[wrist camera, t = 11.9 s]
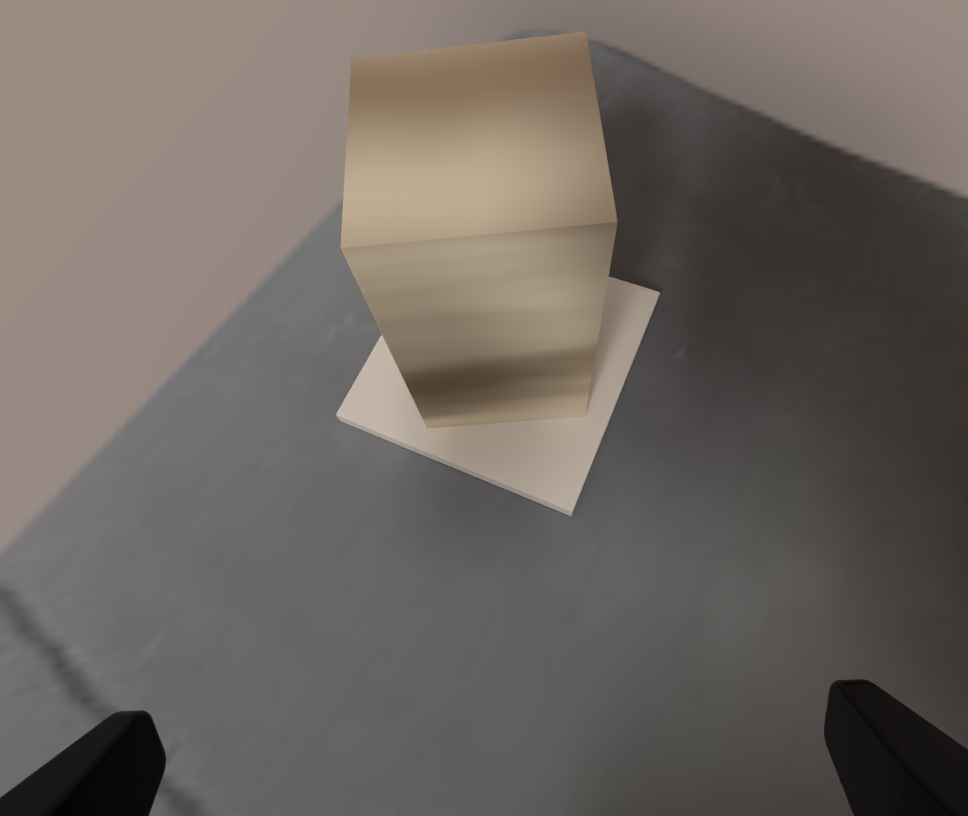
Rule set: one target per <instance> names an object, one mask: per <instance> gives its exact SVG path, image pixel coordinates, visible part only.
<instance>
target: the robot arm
mask: <svg viewBox="0 0 968 816" xmlns="http://www.w3.org/2000/svg"><path fill="white" fill-rule="evenodd" d="M824 736H825V741H826V745H827V748H828V751H829V754H830V756H831V759H832V761H833V764H834V766H835V769H836V771H837V774H838V776H839V779H840V782H841V784H842V787H843V789H844V792H845V794H846V797H847V799H848V802H849V804H850V807H851V810H852V812H853V815H854V816H968V749H966V748H965V747H963V746H962V745H961V744H959V743H958V742H956V741H955V740H953V739H952V738H951V737H949V736H948V735H946V734H945V733H943V732H942V731H941V730H939V729H938V728H936V727H935V726H933V725H932V724H931V723H929V722H928V721H926V720H925V719H924V718H922V717H921V716H919V715H918V714H916V713H915V712H914V711H912V710H911V709H909V708H908V707H906V706H905V705H904V704H902V703H901V702H899V701H898V700H896V699H895V698H894V697H892V696H891V695H889V694H888V693H887V692H885V691H884V690H882V689H881V688H879V687H878V686H877V685H875V684H873V683H872V682H870V681H867V680H863V679H858V680H837V681H834V682H833V683H832V685H831V686H830V690H829V696H828V703H827V710H826V716H825V723H824ZM165 764H166V756H165V751H164V748H163V745H162V743H161V740H160V737H159V735H158V732H157V729H156V727H155V724H154V722H153V719H152V717H151V715H150V714H149V713H148V712H146V711H143V710H140V711H120V712H116V713H114V714H112V715H111V716H109V717H108V718H106V719H105V720H104V721H102V722H101V723H100V724H98V725H97V726H96V727H94V728H93V729H92V730H90V731H89V732H87V733H86V734H85V735H83V736H82V737H81V738H79V739H78V740H77V741H75V742H74V743H73V744H71V745H70V746H69V747H67V748H66V749H65V750H63V751H62V752H61V753H59V754H58V755H57V756H55V757H54V758H53V759H51V760H50V761H49V762H47V763H46V764H45V765H43V766H42V767H41V768H39V769H38V770H37V771H35V772H34V773H33V774H31V775H30V776H29V777H27V778H26V779H25V780H23V781H22V782H21V783H19V784H18V785H17V786H15V787H14V788H13V789H11V790H10V791H9V792H7V793H6V794H4V795H3V796H2V797H0V816H149V813H150V810H151V808H152V805H153V802H154V799H155V796H156V794H157V791H158V788H159V785H160V782H161V780H162V777H163V774H164V770H165Z"/></svg>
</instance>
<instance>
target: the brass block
mask: <svg viewBox="0 0 968 816" xmlns="http://www.w3.org/2000/svg"><path fill="white" fill-rule="evenodd" d="M351 61H352V62H351V78H350V95H349V112H348V130H347V147H346V148H347V149H346V165H345V181H344V198H343V216H342V233H341V250H342V252H343V254H344V256H345V258H346V260H347V263H348V265H349V267H350V269H351V271H352V273H353V275H354V277H355V279H356V281H357V283H358V285H359V288H360V290H361V292H362V294H363V296H364V298H365V300H366V302H367V304H368V306H369V308H370V310H371V313H372V315H373V317H374V319H375V321H376V323H377V325H378V327H379V329H380V331H381V333H382V336H383V338H384V340H385V342H386V344H387V346H388V348H389V350H390V352H391V354H392V356H393V358H394V361H395V363H396V365H397V367H398V369H399V371H400V373H401V375H402V377H403V379H404V381H405V383H406V386H407V388H408V390H409V392H410V394H411V396H412V398H413V400H414V402H415V404H416V406H417V408H418V411H419V413H420V415H421V417H422V419H423V421H424V423H425V425H426V427H427V428H439V427H452V426H466V425H479V424H492V423H505V422H519V421H532V420H545V419H558V418H572V417H585V414H586V408H587V402H588V396H589V390H590V384H591V378H592V372H593V366H594V360H595V354H596V349H597V343H598V337H599V331H600V325H601V319H602V313H603V307H604V301H605V295H606V289H607V283H608V277H609V271H610V265H611V259H612V253H613V247H614V241H615V235H616V229H617V223H618V221H617V215H616V209H615V203H614V197H613V191H612V185H611V179H610V173H609V167H608V161H607V155H606V148H605V142H604V136H603V130H602V124H601V118H600V112H599V106H598V100H597V94H596V88H595V82H594V76H593V70H592V64H591V58H590V52H589V46H588V40H587V34H586V32H578V33H569V34H561V35H552V36H543V37H535V38H526V39H517V40H508V41H500V42H491V43H482V44H474V45H466V46H456V47H447V48H439V49H430V50H422V51H413V52H404V53H395V54H386V55H378V56H369V57H360V58H352V60H351Z"/></svg>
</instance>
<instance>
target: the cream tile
mask: <svg viewBox="0 0 968 816" xmlns="http://www.w3.org/2000/svg"><path fill="white" fill-rule="evenodd" d="M659 295H660V292H658V291H654V290H651V289H648V288H645V287H641V286H638V285H635V284H632V283H629V282H625V281H622V280H619V279H616V278H612V277H608V283H607V289H606V295H605V301H604V307H603V313H602V319H601V325H600V331H599V337H598V343H597V349H596V354H595V360H594V366H593V372H592V378H591V384H590V390H589V396H588V402H587V408H586V414H585V417H572V418H558V419H545V420H532V421H519V422H505V423H492V424H479V425H466V426H452V427H439V428H427V427H426V425H425V423H424V421H423V419H422V417H421V415H420V413H419V411H418V408H417V406H416V404H415V402H414V400H413V398H412V396H411V394H410V392H409V390H408V388H407V386H406V383H405V381H404V379H403V377H402V375H401V373H400V371H399V369H398V367H397V365H396V363H395V361H394V358H393V356H392V354H391V352H390V350H389V348H388V346H387V344H386V342H385V340H384V338H383V336H382V335H381V337H380V338H379V340H378V342H377V344H376V345H375V347H374V349H373V351H372V352H371V354H370V356H369V358H368V359H367V361H366V363H365V365H364V366H363V368H362V370H361V372H360V373H359V375H358V377H357V379H356V381H355V382H354V384H353V386H352V388H351V389H350V391H349V393H348V395H347V396H346V398H345V400H344V402H343V403H342V405H341V407H340V409H339V410H338V412H337V414H336V416H337V417H338V418H339V420H340V421H342V422H344V423H346V424H349V425H351V426H354V427H356V428H358V429H361V430H363V431H366V432H368V433H371V434H373V435H375V436H378V437H380V438H383V439H385V440H388V441H390V442H392V443H395V444H397V445H400V446H402V447H404V448H407V449H409V450H412V451H414V452H417V453H419V454H421V455H424V456H426V457H429V458H431V459H434V460H436V461H438V462H441V463H443V464H446V465H448V466H450V467H453V468H455V469H458V470H460V471H463V472H465V473H467V474H470V475H472V476H475V477H477V478H480V479H482V480H484V481H487V482H489V483H492V484H494V485H496V486H499V487H501V488H504V489H506V490H509V491H511V492H513V493H516V494H518V495H521V496H523V497H525V498H528V499H530V500H533V501H535V502H538V503H540V504H542V505H545V506H547V507H550V508H552V509H555V510H557V511H559V512H562V513H564V514H567V515H569V516H571V517H572V514H573V512H574V509H575V507H576V504H577V502H578V499H579V497H580V494H581V492H582V489H583V487H584V484H585V482H586V479H587V477H588V474H589V472H590V469H591V467H592V464H593V462H594V459H595V457H596V454H597V452H598V449H599V447H600V444H601V442H602V439H603V437H604V434H605V432H606V429H607V427H608V424H609V422H610V419H611V417H612V414H613V412H614V409H615V407H616V404H617V402H618V399H619V397H620V394H621V392H622V389H623V387H624V384H625V382H626V379H627V377H628V374H629V372H630V369H631V367H632V364H633V362H634V359H635V357H636V354H637V352H638V349H639V347H640V344H641V342H642V339H643V337H644V334H645V332H646V329H647V327H648V324H649V322H650V319H651V317H652V314H653V312H654V309H655V307H656V304H657V302H658V298H659Z"/></svg>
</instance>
